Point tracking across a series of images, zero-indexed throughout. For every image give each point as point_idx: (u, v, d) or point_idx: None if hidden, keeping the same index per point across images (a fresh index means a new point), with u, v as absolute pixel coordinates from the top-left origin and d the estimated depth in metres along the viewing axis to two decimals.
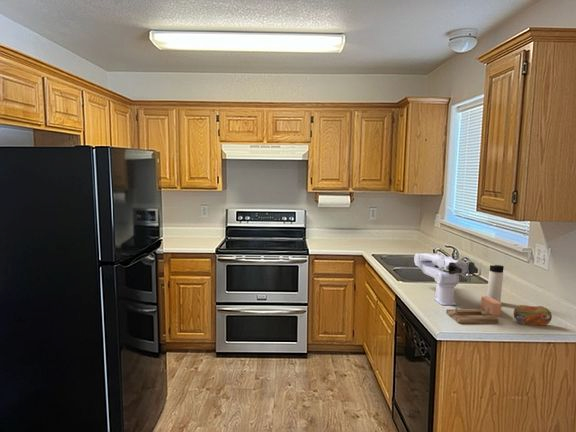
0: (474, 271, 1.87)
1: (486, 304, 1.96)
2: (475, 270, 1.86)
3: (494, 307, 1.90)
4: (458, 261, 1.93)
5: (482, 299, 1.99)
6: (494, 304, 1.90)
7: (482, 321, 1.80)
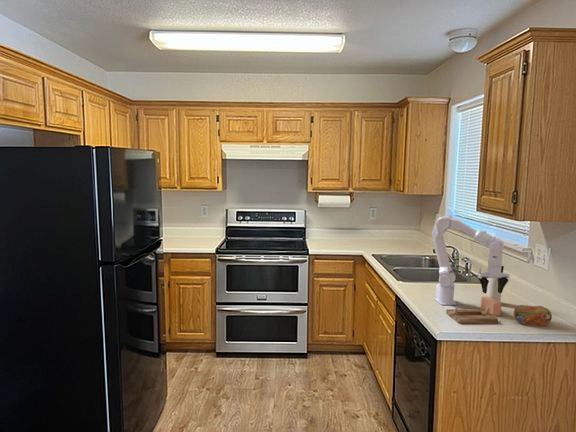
0: (498, 288, 1.95)
1: (486, 304, 1.96)
2: (499, 290, 1.94)
3: (494, 307, 1.90)
4: (496, 277, 1.90)
5: (482, 299, 1.99)
6: (494, 304, 1.90)
7: (482, 321, 1.80)
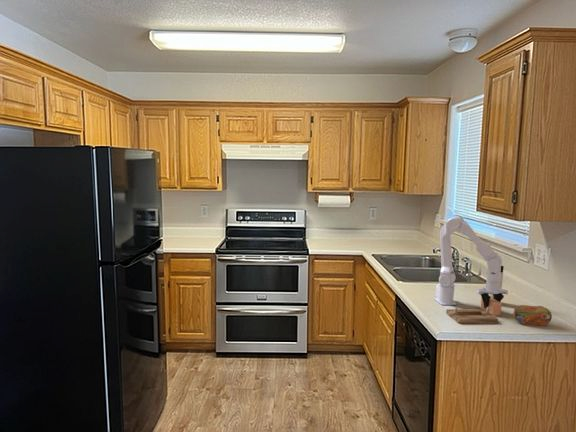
0: None
1: None
2: None
3: (494, 307, 1.90)
4: (494, 293, 1.91)
5: (482, 299, 1.99)
6: (494, 304, 1.90)
7: (482, 321, 1.80)
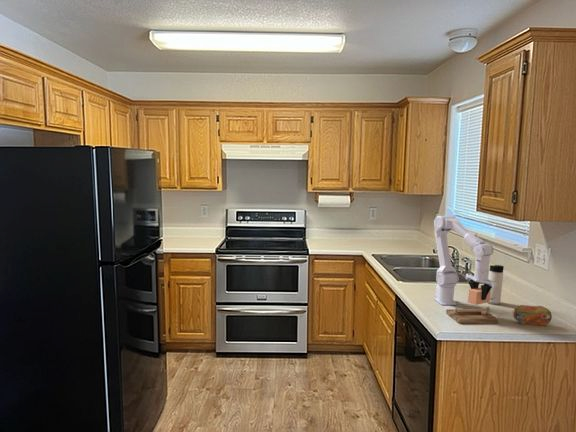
0: None
1: None
2: None
3: (469, 294, 1.86)
4: (475, 280, 1.86)
5: None
6: (469, 291, 1.87)
7: (482, 321, 1.80)
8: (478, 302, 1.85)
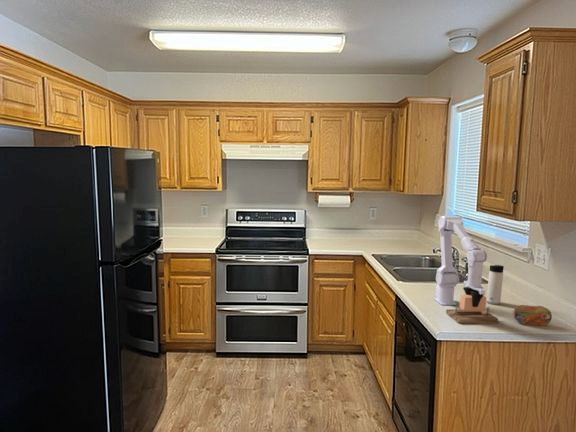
0: None
1: None
2: None
3: (460, 299, 1.86)
4: None
5: None
6: (460, 296, 1.86)
7: (482, 321, 1.80)
8: (468, 308, 1.83)
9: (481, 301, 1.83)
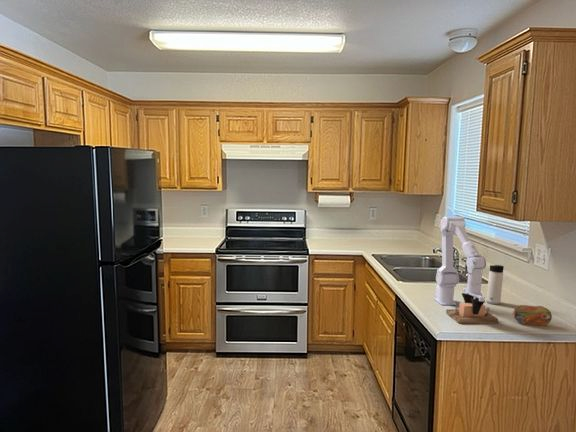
0: None
1: None
2: None
3: (460, 307, 1.87)
4: None
5: None
6: (460, 304, 1.87)
7: (482, 321, 1.80)
8: None
9: (480, 309, 1.84)
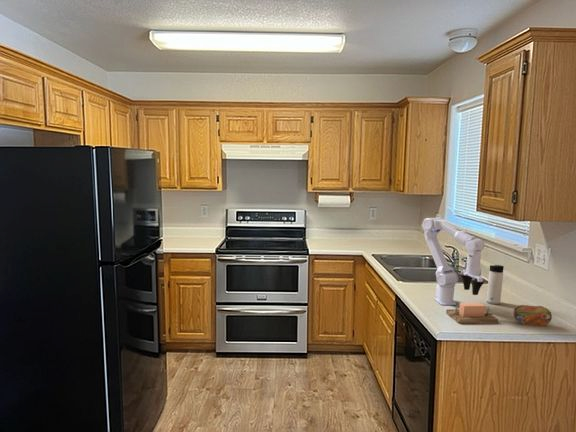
0: None
1: None
2: None
3: (460, 307, 1.87)
4: None
5: None
6: (460, 304, 1.87)
7: (482, 321, 1.80)
8: None
9: (480, 309, 1.84)
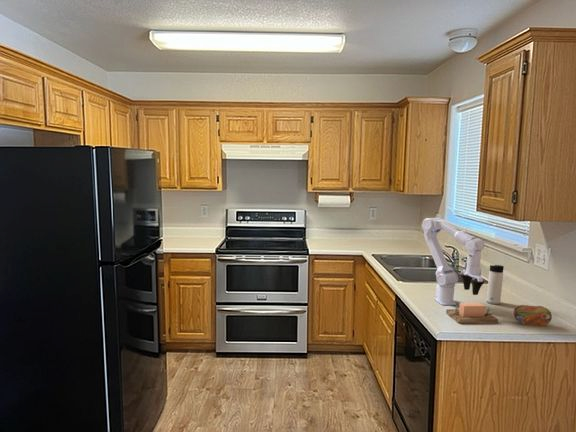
0: None
1: None
2: None
3: (460, 307, 1.87)
4: None
5: None
6: (460, 304, 1.87)
7: (482, 321, 1.80)
8: None
9: (480, 309, 1.84)
